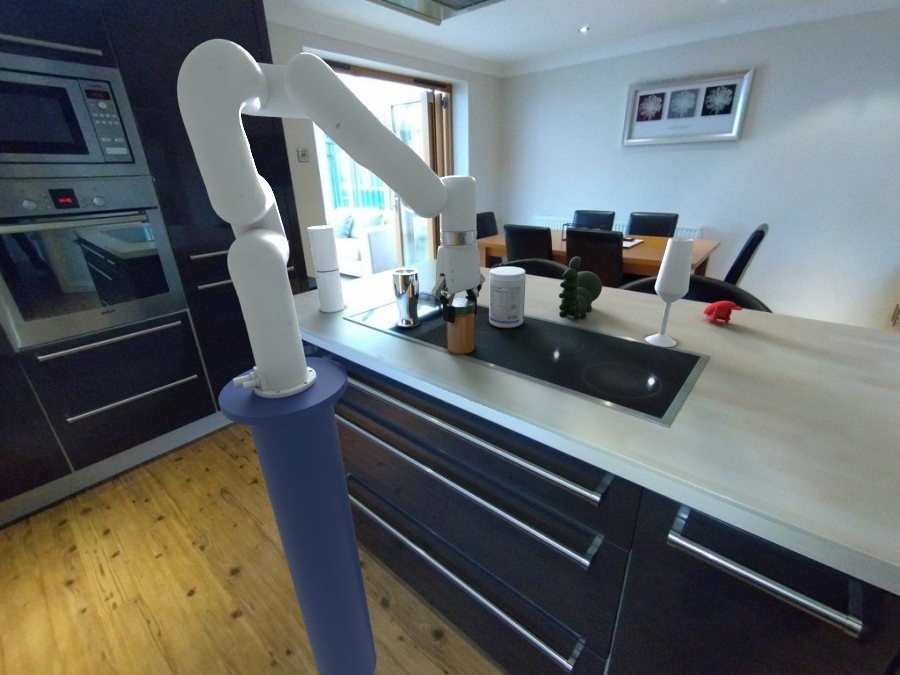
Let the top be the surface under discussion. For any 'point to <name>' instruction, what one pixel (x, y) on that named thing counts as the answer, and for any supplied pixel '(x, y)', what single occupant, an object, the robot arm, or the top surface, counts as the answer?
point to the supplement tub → (506, 296)
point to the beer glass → (406, 296)
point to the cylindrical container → (326, 268)
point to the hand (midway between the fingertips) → (460, 316)
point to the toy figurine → (578, 291)
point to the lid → (463, 306)
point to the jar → (461, 334)
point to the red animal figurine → (720, 311)
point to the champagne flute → (672, 282)
